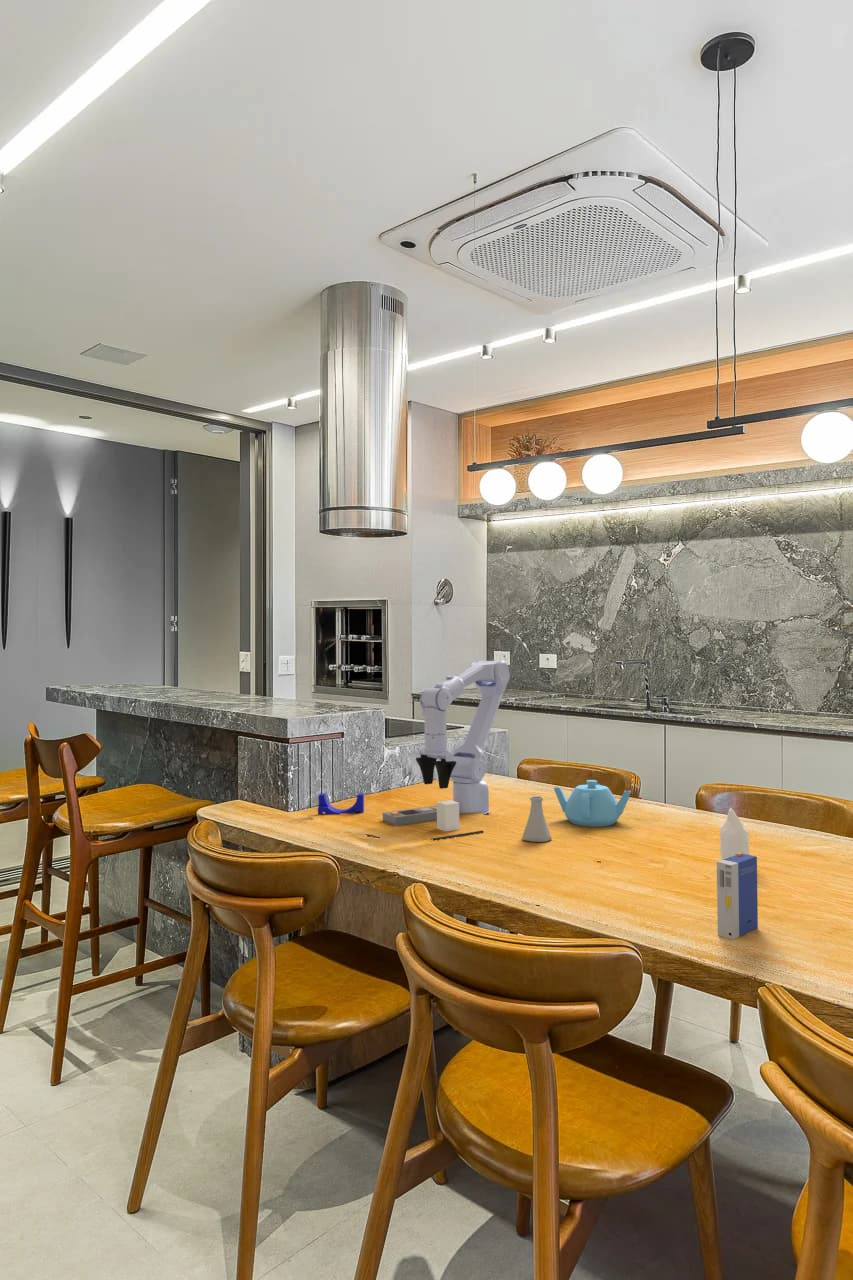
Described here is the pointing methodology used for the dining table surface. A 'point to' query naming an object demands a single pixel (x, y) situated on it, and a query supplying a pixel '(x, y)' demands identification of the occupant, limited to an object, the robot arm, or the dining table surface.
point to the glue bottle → (733, 837)
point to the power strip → (411, 815)
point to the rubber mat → (459, 835)
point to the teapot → (592, 805)
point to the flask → (536, 823)
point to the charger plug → (448, 815)
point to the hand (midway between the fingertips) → (435, 786)
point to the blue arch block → (329, 809)
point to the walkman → (737, 895)
